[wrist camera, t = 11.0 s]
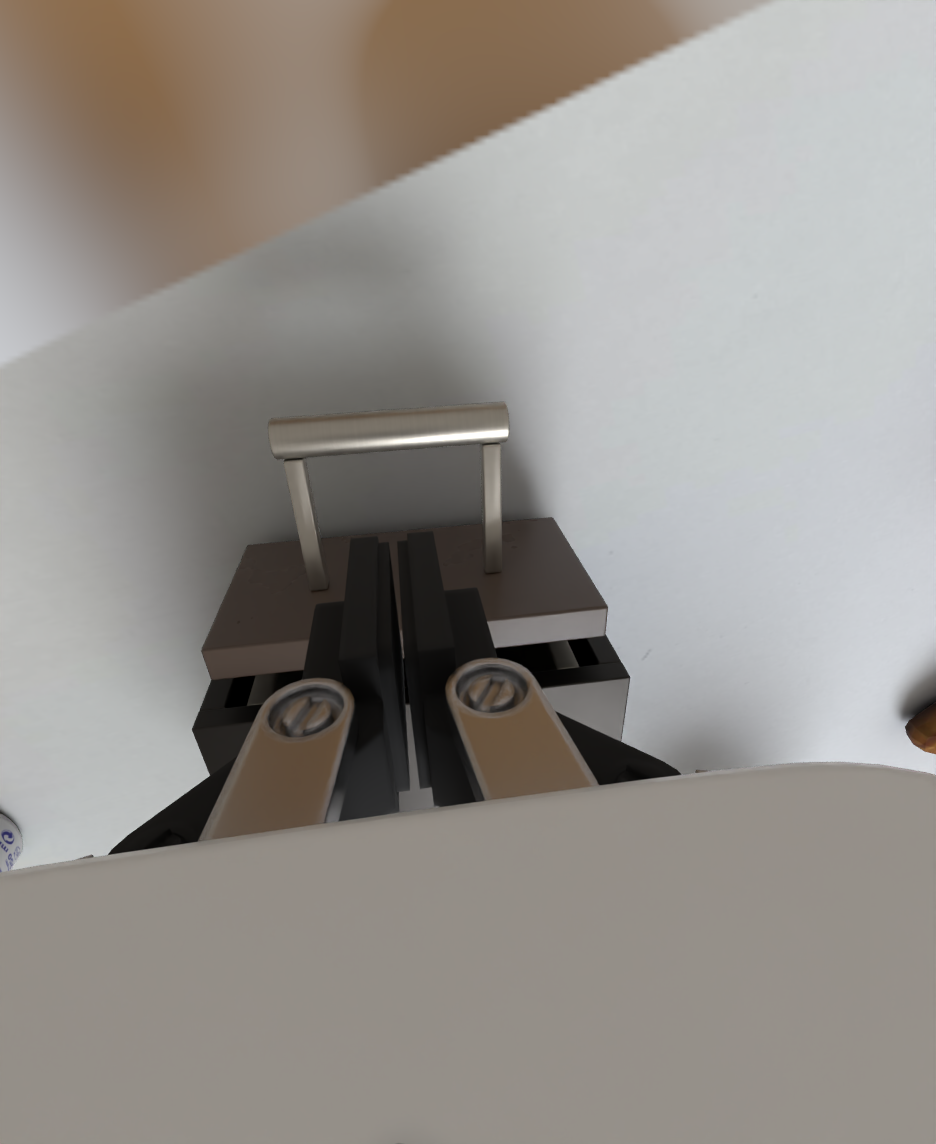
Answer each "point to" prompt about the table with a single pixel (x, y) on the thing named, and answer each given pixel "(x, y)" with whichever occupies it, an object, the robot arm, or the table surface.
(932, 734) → the croissant
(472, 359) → the table surface
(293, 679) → the drawer front with handle
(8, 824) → the energy drink
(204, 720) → the dark wooden box
